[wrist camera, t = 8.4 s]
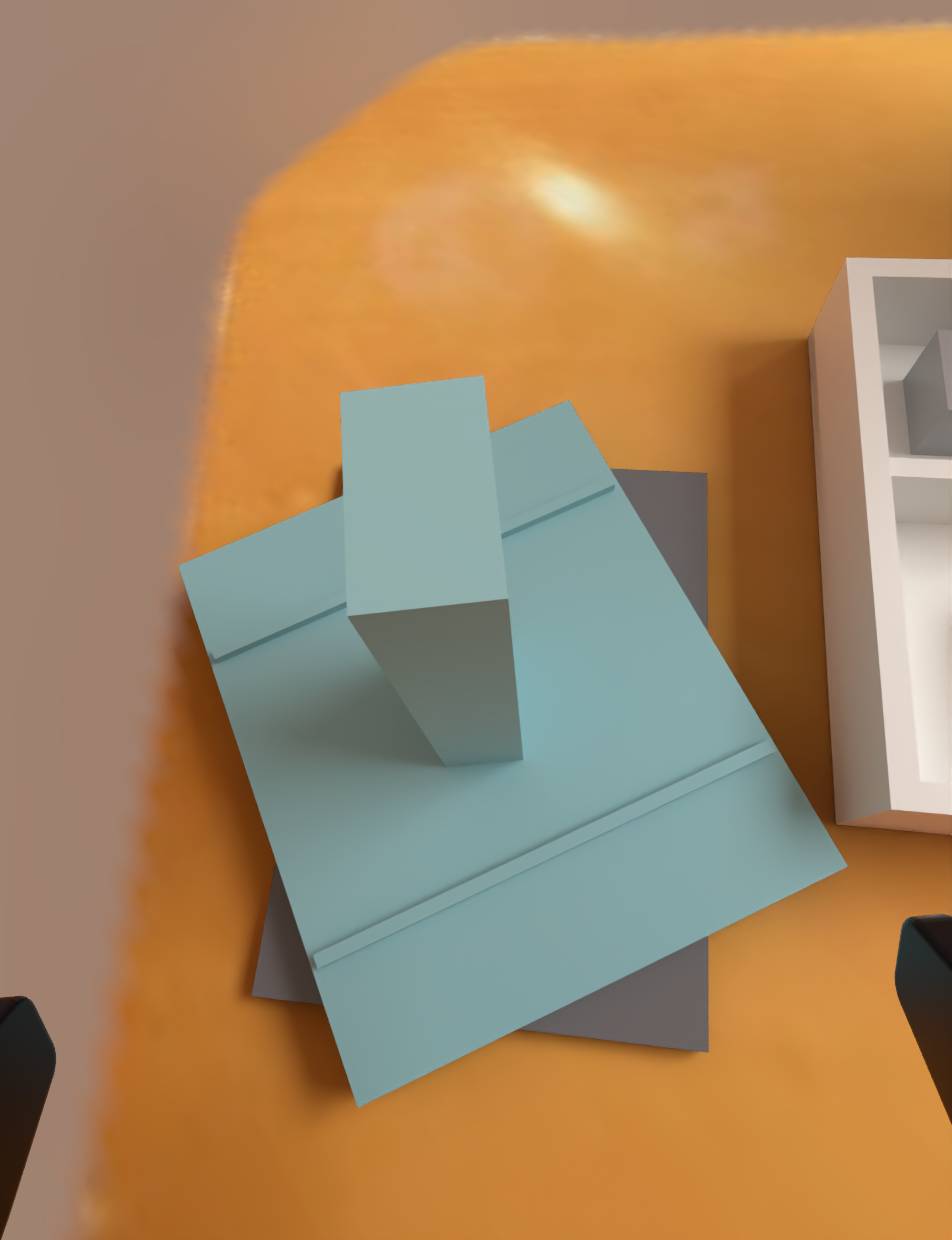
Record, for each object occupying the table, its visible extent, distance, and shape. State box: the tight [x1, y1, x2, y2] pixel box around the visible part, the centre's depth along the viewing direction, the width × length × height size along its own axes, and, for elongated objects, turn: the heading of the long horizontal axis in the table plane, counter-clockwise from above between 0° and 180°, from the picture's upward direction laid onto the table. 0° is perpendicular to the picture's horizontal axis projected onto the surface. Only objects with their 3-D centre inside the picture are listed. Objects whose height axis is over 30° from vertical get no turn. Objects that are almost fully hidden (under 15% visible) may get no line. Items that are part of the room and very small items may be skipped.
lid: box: [179, 375, 848, 1108], centre depth 14 cm, size 13×11×11 cm
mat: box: [252, 469, 709, 1053], centre depth 19 cm, size 14×10×1 cm
